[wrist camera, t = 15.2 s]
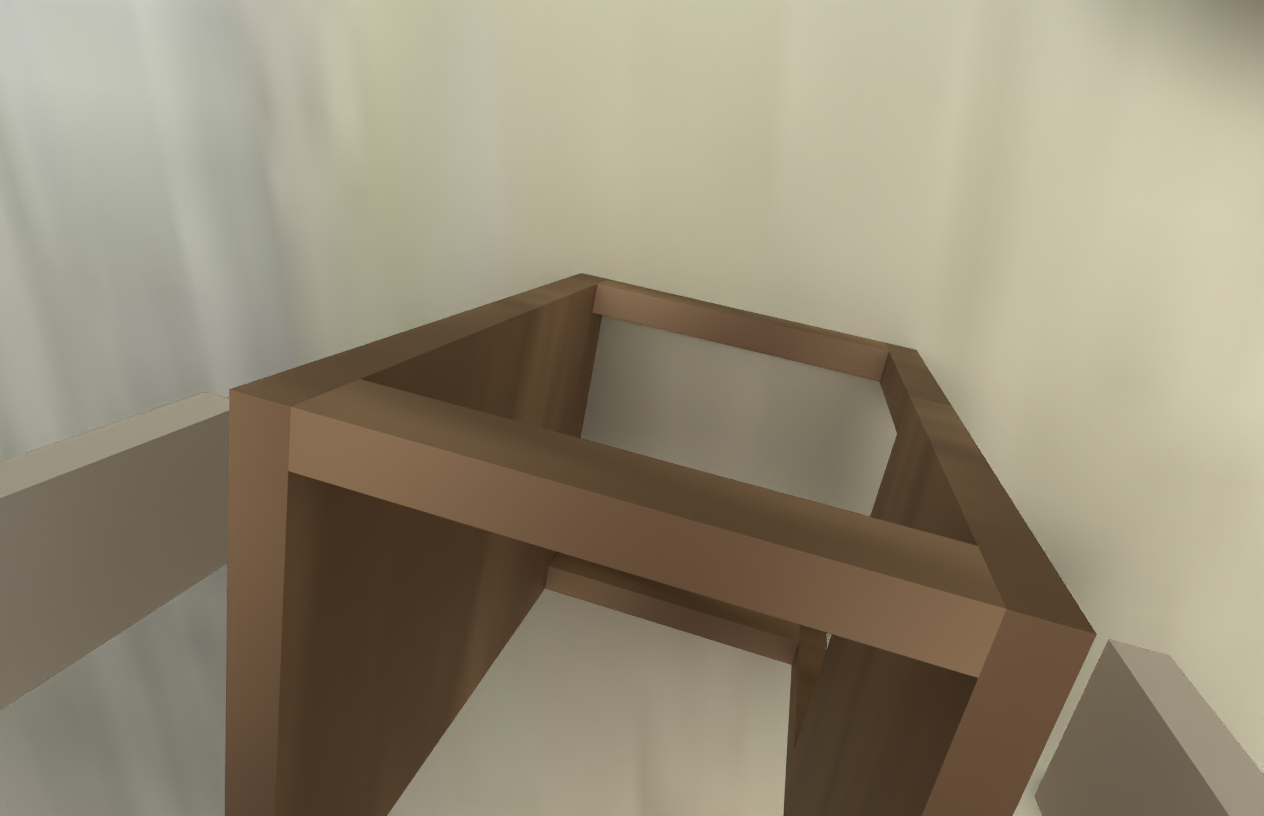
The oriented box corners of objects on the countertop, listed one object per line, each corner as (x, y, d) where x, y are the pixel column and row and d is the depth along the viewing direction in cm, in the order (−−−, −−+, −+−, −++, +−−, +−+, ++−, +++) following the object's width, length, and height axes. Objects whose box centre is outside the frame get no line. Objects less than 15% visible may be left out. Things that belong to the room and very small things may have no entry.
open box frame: (533, 564, 18) (223, 966, 9) (581, 273, 16) (229, 389, 6) (819, 651, 17) (820, 1229, 7) (916, 350, 14) (1097, 634, 5)
